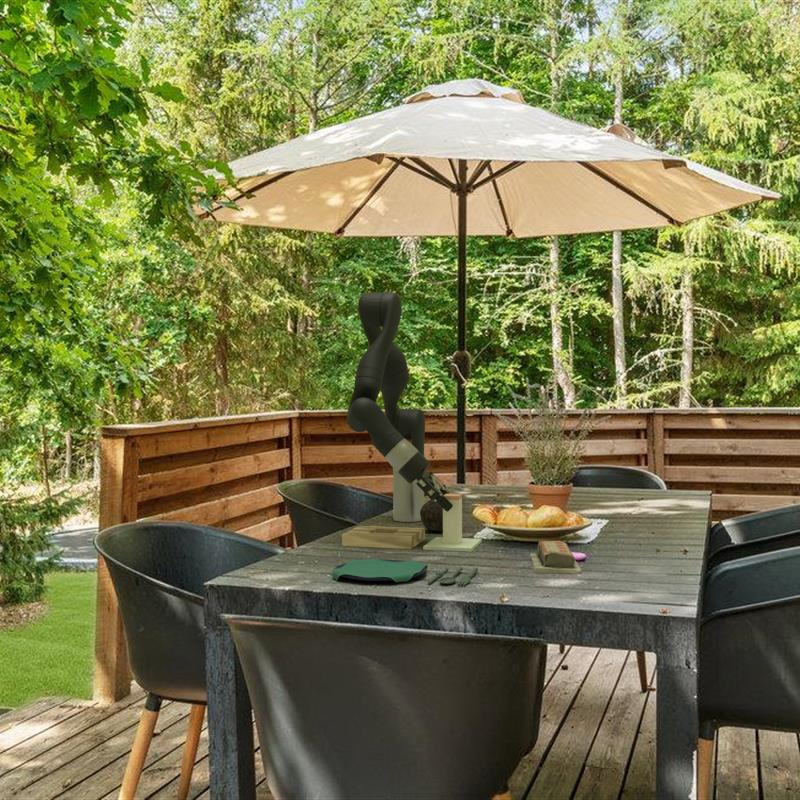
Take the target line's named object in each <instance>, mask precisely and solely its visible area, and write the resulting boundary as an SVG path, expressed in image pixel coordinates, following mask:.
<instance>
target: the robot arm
mask: <svg viewBox="0 0 800 800" xmlns="http://www.w3.org/2000/svg"><path fill="white" fill-rule="evenodd" d="M357 305H358V306H357V309H358V315H359V319H360V322H361V323H360V324H361V325H362V328H363V331H364V335H365V337H366V340H367V342H368V346H369V347H368V349H367V350H366V351H365V352H364V354H363V355H362V356H361V358H360V359H359V362H358V364H357V367H356V368H357V369H356V372H355V378H354V383H353V384H354V385H353V391H352V395H351V399H350V402H349V406H348V409H347V412H346V421H347V425H348V426H349V428H350V429H351V430H352V431H354V432H355V433H356V432H357V433H364V432H367V433H368V434H369V436H370V438H371V444H372V446H373V447H374V448H375V449H376V450H377V451H378V452H379V454H380V455H382V456H383V458H385V459H386V461H387V463H389V465H390V466H391V467H392V476H393V477H392V483H393V485H392V488H393V489H392V495H393V498H392V501H393V503H392V504H393V505H392V506H393V507H392V508H393V509H392V511H393V512H392V515H393V517H392V520H393V521H395V522H402V523H406V522H407V523H412V522H413V523H415V522H422V520H421V516H420V510H421V508H422V506H423V505H424V504H425V495H426V496H427V497H428V498H429V499H430V500H432V501H433V500H434V501H435V502H436V501H437V503H438V504H439V505H440V506H441V507H442V508H443V509H444V510H445V511H447V512H448V511H449V510H450V509H451V508H452V507H453V505H452V504H451V503H450V502H449V501H448V500H447V499H446V497H445V496H444V495H445V494H451V493H450V492H449V491H448V487H447V485H445V484H444V482H442V481H441V480H440V479H439V478H438V477H437V476H436V475H435V474H434V473H433V472H432V471H429V472H428V471H427V469H428V468H429V466H431V463H430V461H429V460H428V458H426V457H425V437H426V436H425V434H426V433H425V432H426V418H425V417H426V416H425V413H424V411H423V410H422V409H419V408H400V407H398V402H399V399H401V395H402V394H403V392H404V390H406V387H407V385H408V384H409V380H410V372H409V368H408V363H407V358H406V356H405V354H404V353H403V352H402V350H401V349H400V348H399V347H398V346H397V345H396V344H395V343H394V340H395V337H396V334H397V331H398V329H399V325H400V322H401V318H402V313H403V310H402V307H403V306H402V305H403V304H402V301H401V297H400V296H399V294H397V293H396V292H373V291H372V292H365V293H362V294H361V295H360V297H359V299H358V303H357ZM380 393H381V398H382V402H383V409H384V411H383V410H382V407H380V405H378V403H377V400H378V396H379V394H380ZM409 441H411V442H409Z"/></svg>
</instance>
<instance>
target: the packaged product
mask: <svg viewBox="0 0 800 800" xmlns="http://www.w3.org/2000/svg"><path fill="white" fill-rule="evenodd" d="M536 550H537V552H530V553H529V557H530V561H531V567H532V568H533V571H534V573H535V574H561V575H562V574H563V575H565V574H569V575H570V574H572V575H573V574H575V575H576V574H577V575H580V574H582V569H581V567H580V566H579V564H578V562H577V561H576V558H575V556H574V555H573V553H572V551H571V550H570V548H569V546H568V544H567V543H566V542H564V541H561V540H540V541H538V544H537V549H536Z"/></svg>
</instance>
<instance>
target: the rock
mask: <svg viewBox="0 0 800 800" xmlns="http://www.w3.org/2000/svg"><path fill="white" fill-rule="evenodd" d="M420 516H421V520H422V521H421V522H422V525H423V527H424V528H425V530H427V531H430V532H435V533H443V508H442V507H441V506H440V505H439V504H438V503H437V501H436V502H435V501H434V500H433V501H432V500H431V499H430V500H428V501H427V502H424V505H423V506H422V508H421V510H420Z"/></svg>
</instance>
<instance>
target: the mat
mask: <svg viewBox="0 0 800 800" xmlns="http://www.w3.org/2000/svg"><path fill="white" fill-rule="evenodd" d="M481 543H482V538H468V537H467V538H464V537H462V542H461V543H460V544H459V545H458V544H443V536H442V537H441V536H439V537H438V536H435V538H432V539H431V540H430V541H429V542H427V543H426V544H425V545H423V547H422V550H424V551H445V552H446V551H447V552H448V551H450V552H470V553H471V552H472V551H474V550H475V549H476V548H477V547H478V546H479V545H480V544H481Z"/></svg>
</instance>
